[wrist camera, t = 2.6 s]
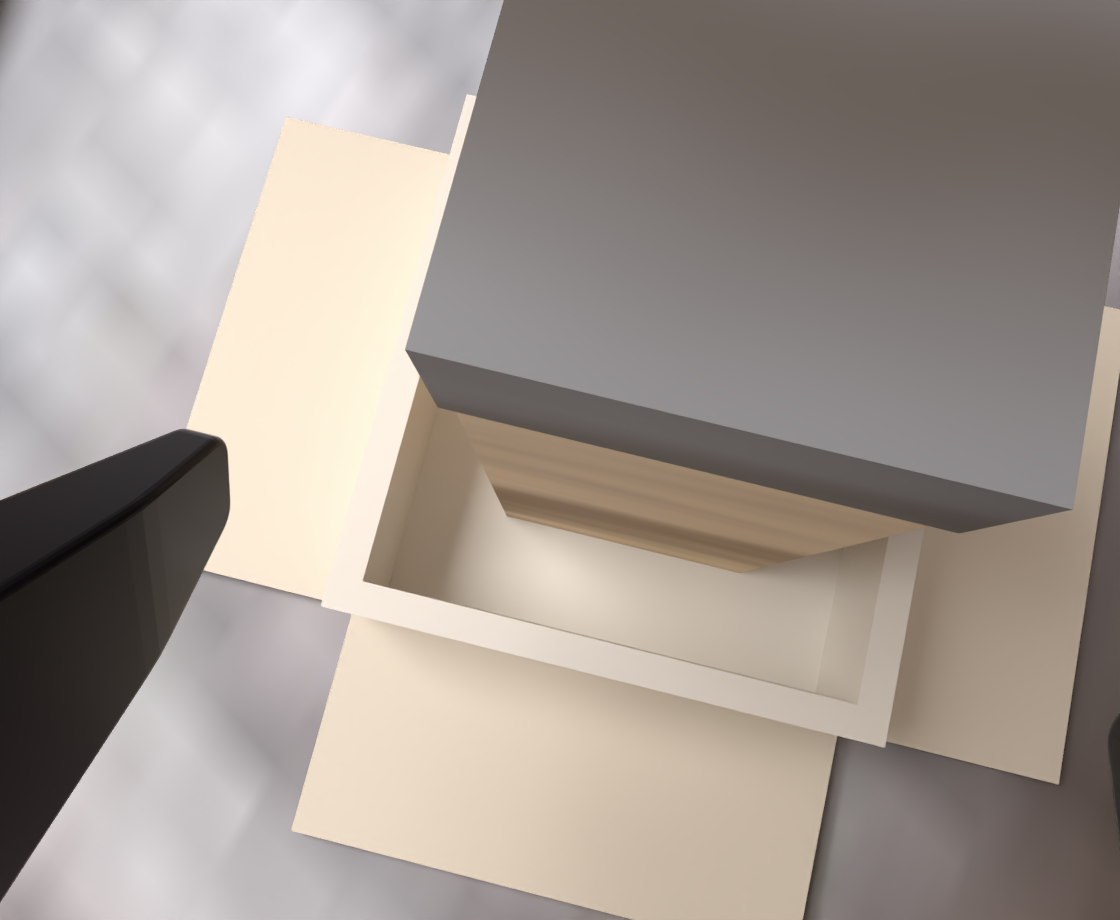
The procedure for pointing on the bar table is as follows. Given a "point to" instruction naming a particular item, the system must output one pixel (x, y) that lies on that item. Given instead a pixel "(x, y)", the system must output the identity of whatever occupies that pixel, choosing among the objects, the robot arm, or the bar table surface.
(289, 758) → the bar table surface
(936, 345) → the box
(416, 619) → the carton
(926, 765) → the bar table surface
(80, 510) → the robot arm
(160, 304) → the bar table surface
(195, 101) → the bar table surface
